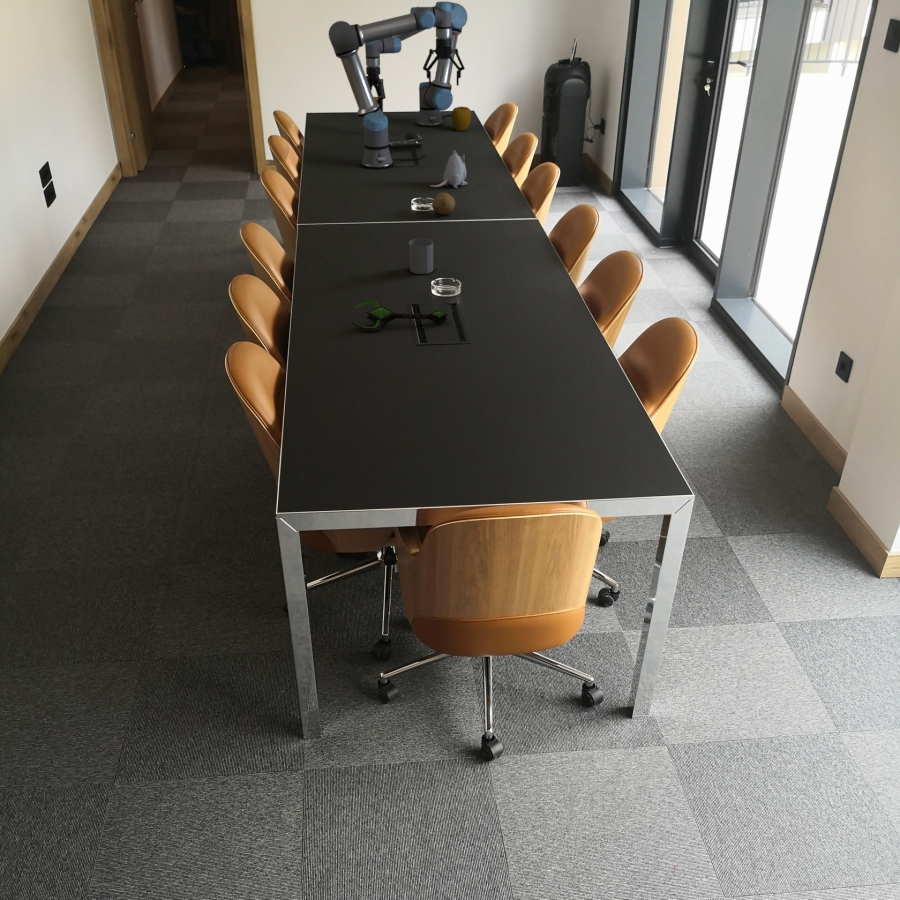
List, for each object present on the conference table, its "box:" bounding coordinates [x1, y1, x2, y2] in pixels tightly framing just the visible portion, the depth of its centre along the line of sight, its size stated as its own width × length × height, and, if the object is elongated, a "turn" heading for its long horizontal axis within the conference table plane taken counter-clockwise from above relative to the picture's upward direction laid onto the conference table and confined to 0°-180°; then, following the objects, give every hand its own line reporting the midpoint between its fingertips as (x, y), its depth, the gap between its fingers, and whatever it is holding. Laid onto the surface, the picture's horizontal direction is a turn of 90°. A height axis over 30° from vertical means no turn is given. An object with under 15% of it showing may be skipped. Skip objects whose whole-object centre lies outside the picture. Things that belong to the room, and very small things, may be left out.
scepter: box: [350, 299, 449, 332], centre depth 268 cm, size 6×13×30 cm
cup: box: [408, 237, 434, 275], centre depth 305 cm, size 8×8×10 cm
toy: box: [428, 149, 468, 189], centre depth 390 cm, size 9×24×15 cm, turn 137°
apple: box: [451, 105, 472, 132], centre depth 487 cm, size 11×11×13 cm
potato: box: [431, 192, 456, 216], centre depth 360 cm, size 10×14×8 cm
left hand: (443, 85), depth 426 cm, fingers open, 13 cm apart
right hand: (374, 110), depth 474 cm, fingers closed on canister, 9 cm apart
